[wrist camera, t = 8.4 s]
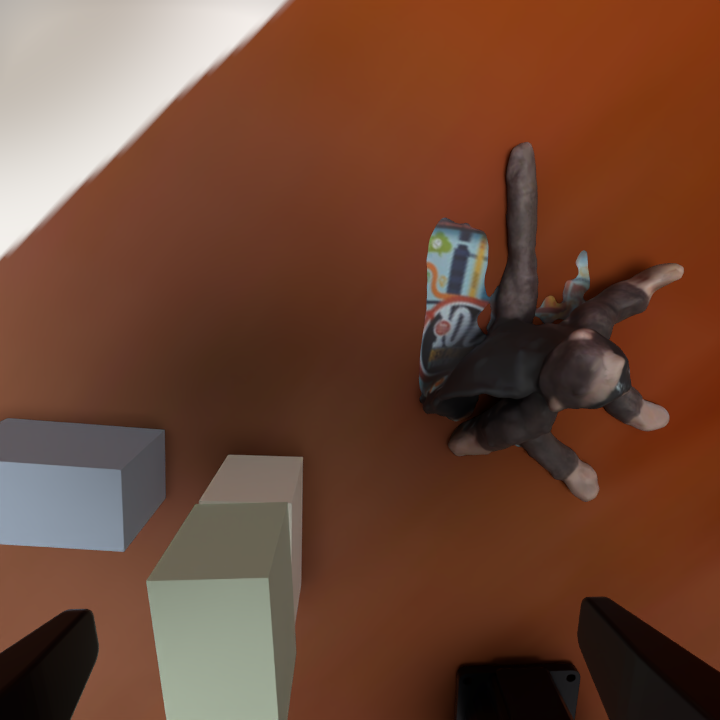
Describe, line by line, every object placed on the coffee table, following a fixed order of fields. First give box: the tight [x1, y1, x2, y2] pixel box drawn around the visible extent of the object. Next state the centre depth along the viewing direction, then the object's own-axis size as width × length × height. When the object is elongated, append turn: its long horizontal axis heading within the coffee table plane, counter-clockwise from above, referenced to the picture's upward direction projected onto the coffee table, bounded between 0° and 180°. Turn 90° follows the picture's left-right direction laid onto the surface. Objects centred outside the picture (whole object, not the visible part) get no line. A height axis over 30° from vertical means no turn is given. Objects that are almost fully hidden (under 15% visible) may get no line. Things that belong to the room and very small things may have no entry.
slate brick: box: [0, 418, 166, 552], centre depth 18 cm, size 7×4×4 cm, turn 85°
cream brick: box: [199, 455, 303, 622], centre depth 19 cm, size 7×4×4 cm, turn 177°
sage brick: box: [146, 502, 296, 720], centre depth 15 cm, size 7×4×4 cm, turn 1°
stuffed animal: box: [419, 142, 684, 502], centre depth 19 cm, size 12×10×12 cm
